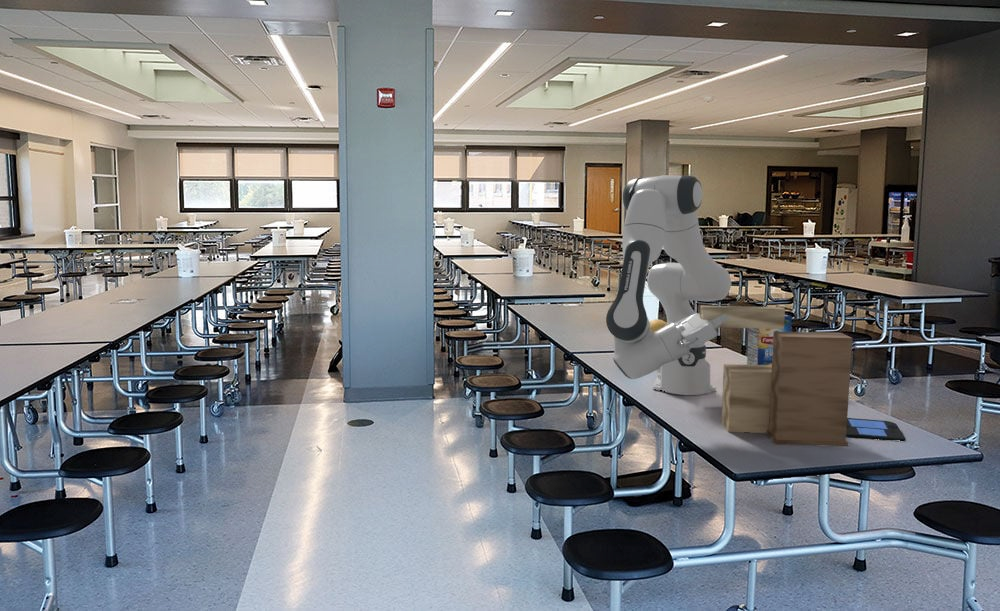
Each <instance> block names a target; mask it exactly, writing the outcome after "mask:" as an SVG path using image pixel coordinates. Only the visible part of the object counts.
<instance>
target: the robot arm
mask: <svg viewBox="0 0 1000 611" xmlns="http://www.w3.org/2000/svg"><path fill="white" fill-rule="evenodd" d="M623 188H624V189H623V192H622V203H623V206H624V209H625V210H626V214H625V218H624V222H623V224H624V225H623V230H622V243H621V244H622V268H621V274H620V280H619V286H618V291H617V294H616V297H615V298H614V300H613V302H612V304H611V305H610V307H609V309H608V310H607V313H606V318H605V321H606V322H605V324H606V327H607V329H608V331H609V333H610V334H611V335H612V336H613V342H614V351H613V358H612V359H613V362H614V364H615V366H616V367H617V368H618V369H619V371H620V372H621V373H622V374H623V375H624V376H625V377H626V378H628V379H630V380H636V379H641V378H642V377H646V376H647V375H650V374H651V373H654V372H657V374H658V375H657V377H656V379H655V381H654V384H653V387H652V389H653V390H654V389H656V390H655V391H660V390H662V391H661V392H664V391H665V393H668V394H673V395H681V396H683V395H684V396H698V395H699V396H700V395H704V394H708V393H711V392H712V393H713V392H716V389H717V388H716V387H715V386H714V385H712V384H711V364H710V363H709V361H707V360H706V356H707V346H706V345H705V343H708V342H709V341H711V340H713V339H715V338H716V337H717V336H718V332H717V331H716V329H717V328H719V327H718V326H720V325H721V324H722V323H723V322H725V321H727V320H728V317H727V315H726V314H725V313H723V314H721V315H719V316H718V317H717V318H715V319H712V320H710V321H708V320H707V319H703V320H702V319H701V318H700V312H699V313H698V312H696V311H695V310H694V309H693V308H692V307H691V305H690V301H697V302H715V301H716V302H717V301H722V300H723V299H725V298H726V297H727V296H728V294H729V293H730V290H731V289H732V279H731V276H730V273H729V272H728V270H727V268H725V267H723V266H721V265H720V264H719V263H717V261H715V260H714V259H713V258H712V256H711V255H710V254H709V253H708V251H707V249H706V247H705V245H704V242H703V239H702V235H701V228H700V225H699V223H700V222H699V218H698V212H697V210H698V209H699V208H700V207H701V204H702V201H703V187H702V183H701V182H700V180H699V179H698V178H697V177H695V176H693V175H687V174H683V175H675V174H674V175H673V174H672V175H671V174H668V175H667V174H662V175H659V176H648V177H643V178H642V177H638V178H633V179H631V180H629V181H628V182H627V183H626V184H625V186H624V187H623ZM662 250H663V251H664V253H666V254H667V256H669V258H672V259H673V260H675V261H677V262H665V263H664V262H663V263H658V264H655V265H653V266H652V267H651V268H650V266H651V264H652V263H653V262H655V261H657V259H658V258H660V255H661V252H662ZM649 268H650V270H649ZM646 282H647V287H648V289H649V291H650V293H652V295H653V296H654V297H656V299H658V301H659V302H660V304H661V306H662V308H663V310H664V312H665V316H666V323H667V325H665V327H663V328H661V329H659V330H657V331H655V332H652V331H651V329H650V323H649V322H650V319H649V318H648V315H647V311H646V309H645V305H644V293H645V286H646Z"/></svg>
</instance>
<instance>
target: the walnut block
mask: <svg viewBox="0 0 1000 611" xmlns="http://www.w3.org/2000/svg"><path fill="white" fill-rule="evenodd" d="M852 350H853V337H852V336H848V335H847V334H844V333H842V332H815V331H813V332H812V331H811V332H810V331H791V332H774V335H773V354H772V374H771V393H770V413H769V430H766V433H765V434H766V436H768V438H769V439H770V440H771V442H772V443H773V444H774V445H781V446H782V445H783V446H784V445H785V446H786V445H787V446H788V445H789V446H812V447H813V446H819V447H846V448H847V447H849V442H848V441H847V437H846V430H847V418H848V411H849V400H850V399H849V398H850V397H849V395H850V382H851V380H850V379H851V367H852V366H851V364H852Z"/></svg>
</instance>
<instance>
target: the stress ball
mask: <svg viewBox="0 0 1000 611" xmlns="http://www.w3.org/2000/svg"><path fill="white" fill-rule="evenodd" d="M649 323H650V329H651V331H652V332H655V331H657V330H659V329H661V328H663V327H665V325H667V321H665V320H662V319H656V318H655V319H653V320H649Z"/></svg>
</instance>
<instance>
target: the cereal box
mask: <svg viewBox="0 0 1000 611" xmlns="http://www.w3.org/2000/svg"><path fill="white" fill-rule="evenodd" d="M792 317H793V316H792V315H788V314H785V319H784V329H764V328H747V329H748V330H747V332H748V333H747V334H748V335H747V349H746V350H747V353H746V355H747V356H746V365H772V354H773V335H774V332H792Z"/></svg>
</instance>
